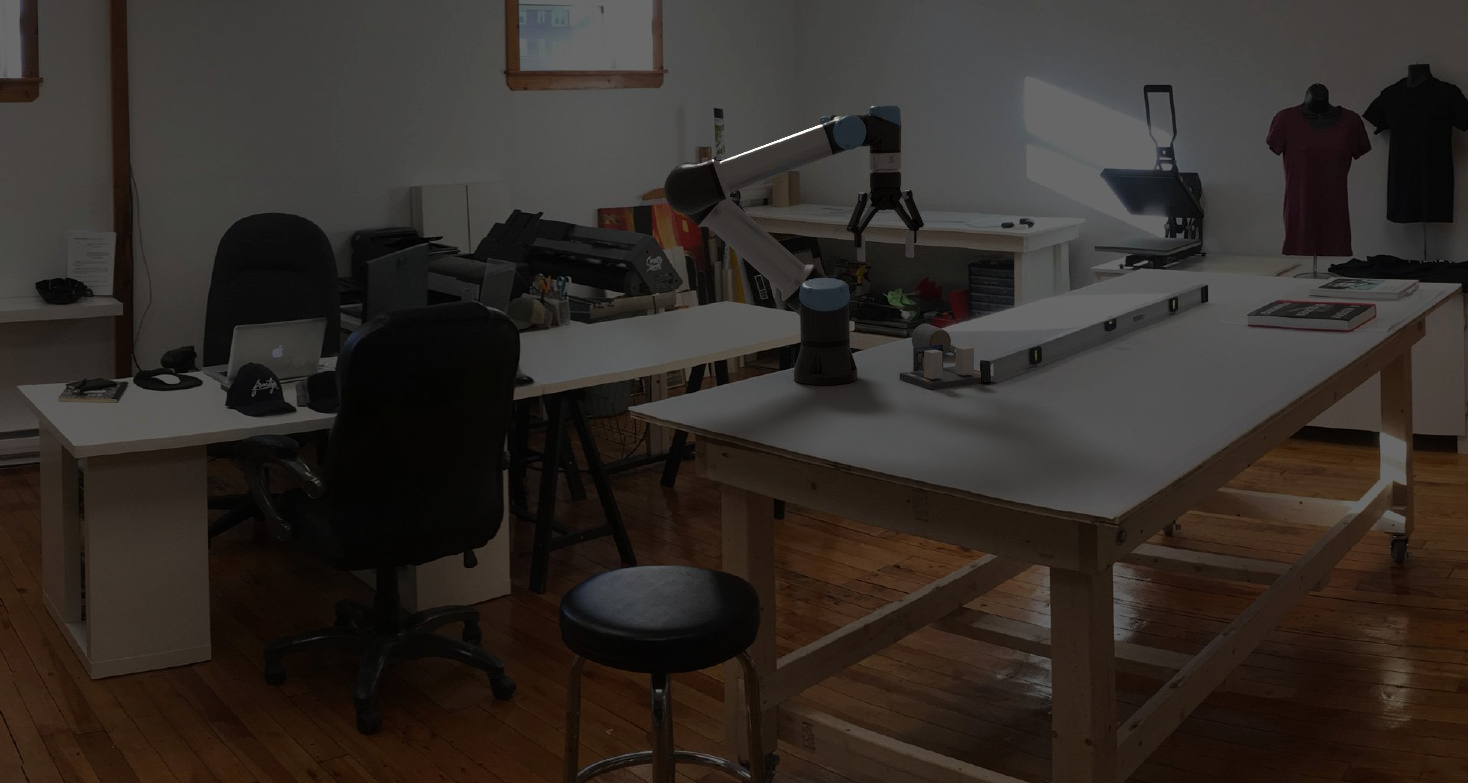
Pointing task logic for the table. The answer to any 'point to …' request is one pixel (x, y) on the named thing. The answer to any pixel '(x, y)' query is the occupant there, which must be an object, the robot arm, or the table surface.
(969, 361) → the tab
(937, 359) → the cream upright block
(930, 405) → the table surface
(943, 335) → the ceramic mug
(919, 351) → the mini dv tape
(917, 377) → the grey base plate
